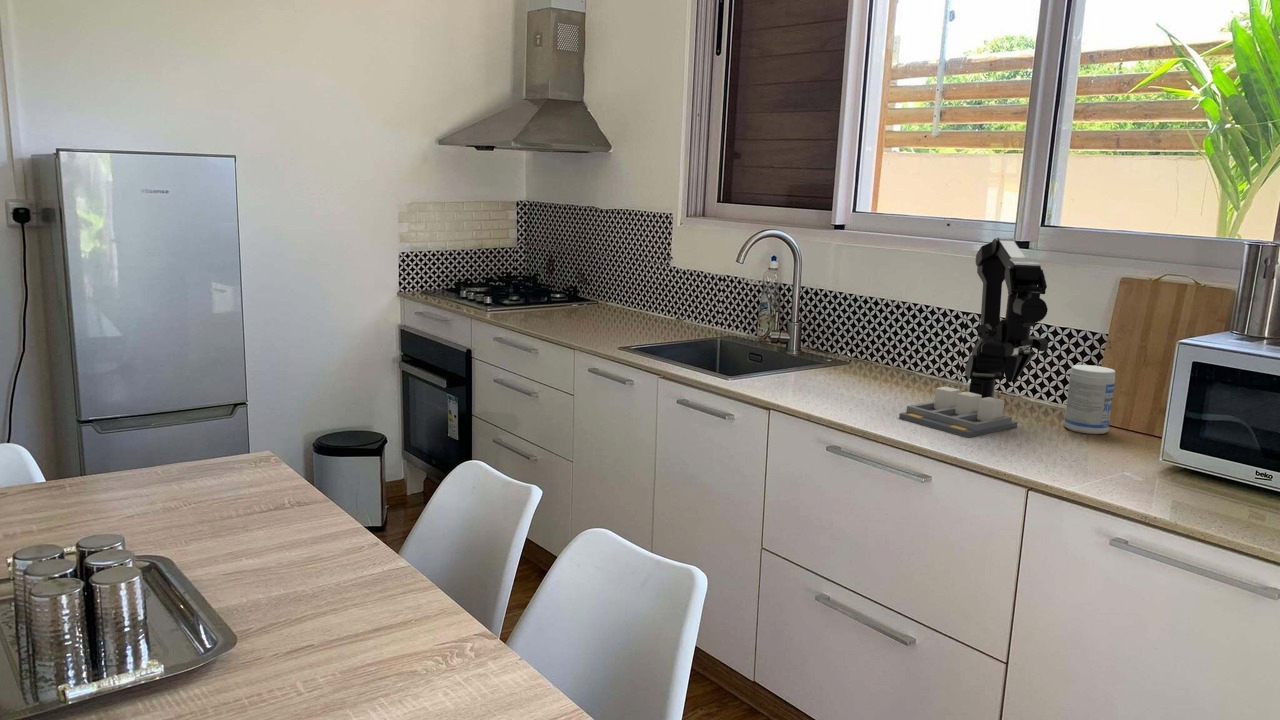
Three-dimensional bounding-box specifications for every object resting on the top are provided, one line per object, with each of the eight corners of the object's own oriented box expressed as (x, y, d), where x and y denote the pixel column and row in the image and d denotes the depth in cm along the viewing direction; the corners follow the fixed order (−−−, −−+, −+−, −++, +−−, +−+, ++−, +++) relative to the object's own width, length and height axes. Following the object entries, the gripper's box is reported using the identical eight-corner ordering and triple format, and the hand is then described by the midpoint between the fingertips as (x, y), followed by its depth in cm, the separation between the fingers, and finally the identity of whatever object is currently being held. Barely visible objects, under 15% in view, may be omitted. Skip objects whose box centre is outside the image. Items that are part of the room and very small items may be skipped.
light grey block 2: (986, 417, 224) (989, 396, 223) (1002, 421, 220) (1004, 400, 219) (976, 419, 221) (979, 398, 220) (992, 423, 218) (994, 402, 217)
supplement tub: (1110, 437, 216) (1119, 374, 213) (1065, 432, 219) (1074, 370, 216) (1104, 427, 225) (1112, 366, 222) (1061, 422, 228) (1068, 362, 225)
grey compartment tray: (948, 409, 237) (949, 398, 236) (1017, 427, 222) (1018, 415, 221) (899, 418, 226) (900, 407, 225) (968, 437, 211) (969, 426, 210)
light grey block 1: (965, 411, 228) (967, 391, 227) (979, 415, 225) (981, 395, 224) (954, 413, 226) (957, 393, 225) (969, 417, 223) (971, 396, 222)
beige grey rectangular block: (943, 406, 233) (946, 386, 232) (957, 409, 230) (960, 389, 229) (933, 408, 231) (935, 388, 230) (947, 411, 227) (949, 391, 227)
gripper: (1010, 309, 232) (1003, 371, 235) (964, 313, 221) (957, 379, 224) (1053, 315, 223) (1044, 380, 226) (1007, 320, 212) (999, 388, 215)
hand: (1010, 381), depth 223 cm, fingers closed
